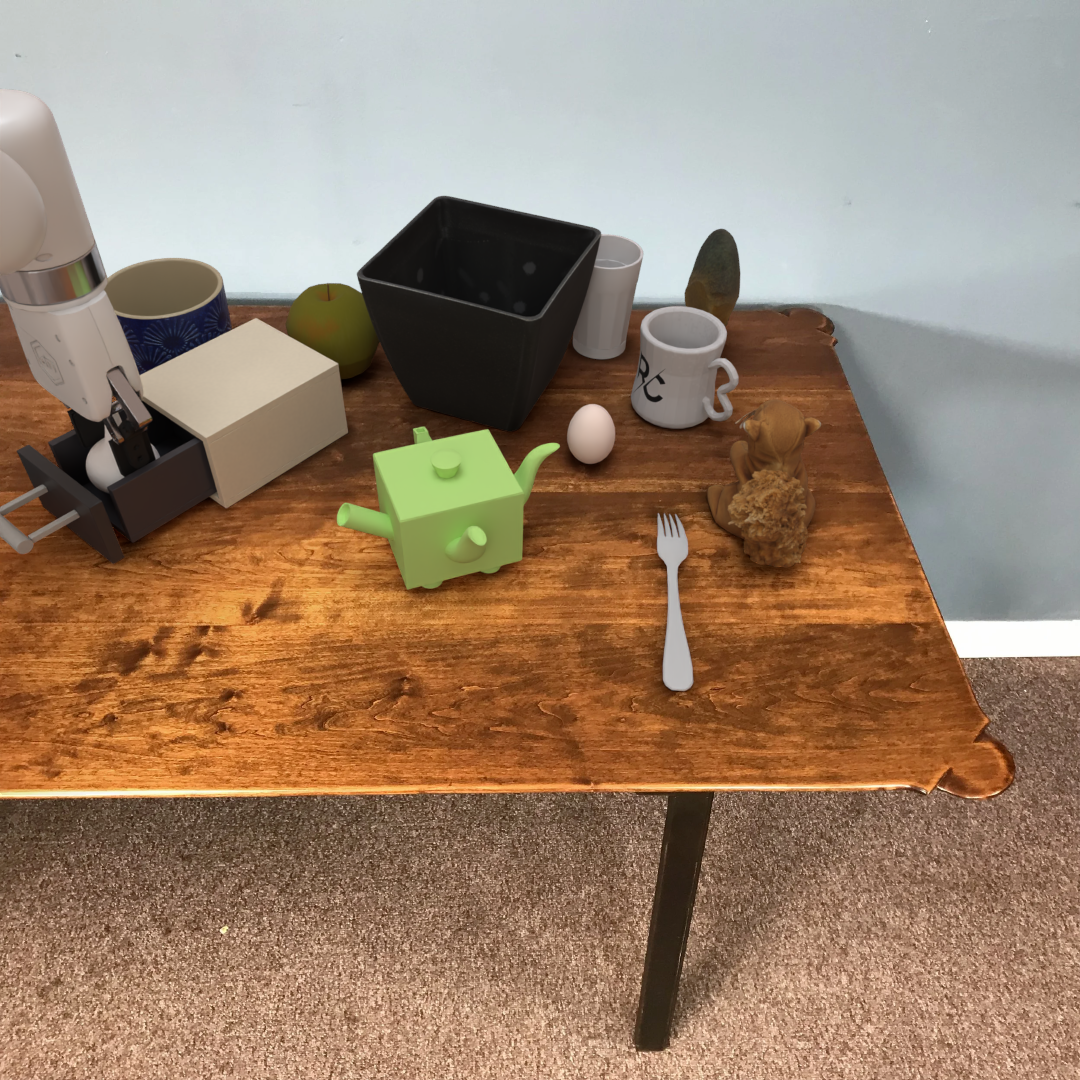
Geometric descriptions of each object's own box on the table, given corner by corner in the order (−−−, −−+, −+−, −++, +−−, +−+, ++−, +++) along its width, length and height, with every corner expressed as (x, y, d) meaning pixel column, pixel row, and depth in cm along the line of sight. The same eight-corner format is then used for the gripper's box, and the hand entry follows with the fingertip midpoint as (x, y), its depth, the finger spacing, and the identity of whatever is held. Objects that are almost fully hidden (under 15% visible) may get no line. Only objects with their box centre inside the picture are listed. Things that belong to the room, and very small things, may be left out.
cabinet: (226, 508, 88) (206, 437, 82) (147, 453, 93) (123, 382, 87) (348, 432, 96) (338, 363, 90) (270, 385, 102) (256, 317, 96)
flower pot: (532, 462, 94) (538, 317, 82) (368, 416, 98) (351, 273, 87) (592, 365, 107) (604, 228, 95) (445, 329, 111) (438, 193, 99)
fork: (657, 704, 76) (661, 687, 74) (652, 513, 89) (656, 494, 87) (691, 706, 76) (696, 689, 74) (681, 515, 89) (685, 496, 87)
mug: (612, 403, 102) (621, 324, 95) (668, 373, 106) (680, 295, 99) (696, 458, 95) (712, 378, 88) (752, 424, 100) (772, 345, 93)
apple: (391, 348, 108) (382, 262, 100) (375, 397, 101) (364, 309, 93) (306, 343, 108) (291, 256, 100) (284, 391, 101) (267, 302, 93)
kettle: (556, 524, 88) (561, 432, 80) (495, 631, 78) (495, 538, 70) (415, 482, 91) (407, 389, 83) (341, 579, 82) (324, 485, 74)
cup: (607, 371, 106) (617, 276, 98) (552, 346, 109) (556, 252, 101) (645, 342, 111) (657, 249, 102) (590, 319, 114) (598, 227, 105)
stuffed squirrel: (804, 489, 92) (839, 380, 83) (823, 593, 82) (864, 482, 73) (705, 481, 93) (728, 371, 83) (711, 583, 83) (738, 472, 73)
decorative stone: (679, 326, 113) (697, 209, 103) (729, 333, 113) (752, 216, 102) (671, 370, 107) (691, 250, 96) (724, 377, 106) (749, 257, 95)
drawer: (53, 601, 78) (23, 545, 73) (-17, 539, 82) (-49, 482, 78) (246, 482, 89) (232, 427, 84) (175, 434, 94) (158, 379, 89)
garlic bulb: (89, 465, 86) (60, 395, 80) (159, 450, 88) (136, 380, 82) (96, 508, 82) (66, 438, 76) (169, 491, 84) (145, 421, 78)
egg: (569, 442, 97) (572, 389, 92) (614, 448, 96) (620, 395, 91) (562, 471, 93) (565, 418, 88) (609, 477, 93) (615, 425, 88)
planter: (264, 376, 103) (245, 289, 95) (162, 422, 97) (133, 332, 89) (206, 331, 109) (184, 245, 101) (107, 371, 103) (75, 283, 95)
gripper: (-56, 250, 72) (28, 434, 84) (66, 330, 64) (138, 518, 77) (35, 218, 76) (102, 398, 89) (159, 289, 68) (212, 474, 81)
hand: (118, 452), depth 83 cm, fingers closed on garlic bulb, 5 cm apart
